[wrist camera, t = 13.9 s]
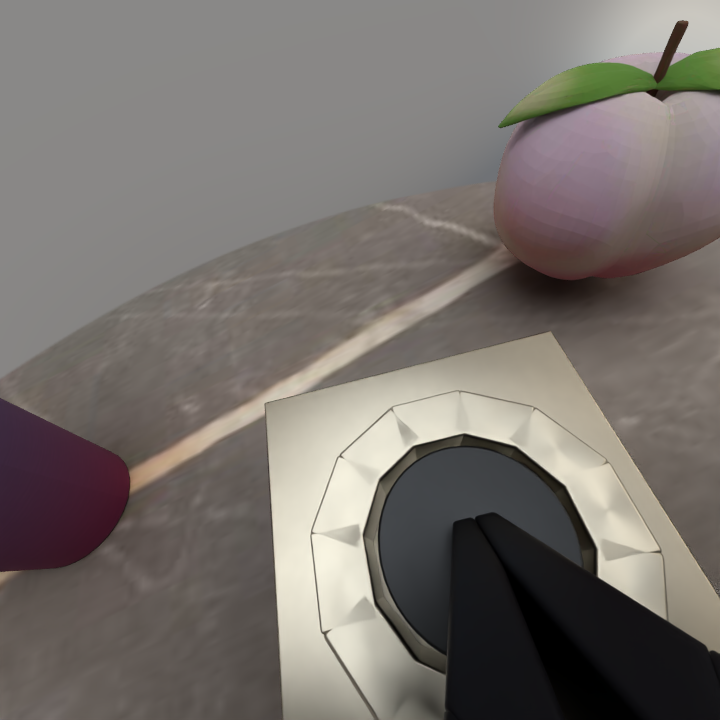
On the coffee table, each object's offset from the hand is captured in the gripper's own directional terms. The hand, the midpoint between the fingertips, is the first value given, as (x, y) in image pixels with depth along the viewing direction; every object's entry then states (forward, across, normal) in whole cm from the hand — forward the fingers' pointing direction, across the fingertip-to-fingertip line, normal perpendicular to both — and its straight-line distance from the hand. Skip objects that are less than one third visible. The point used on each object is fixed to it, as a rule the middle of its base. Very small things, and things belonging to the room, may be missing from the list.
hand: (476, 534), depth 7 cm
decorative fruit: (+14, -10, -3) cm, 17 cm away
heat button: (+2, 0, +2) cm, 2 cm away
